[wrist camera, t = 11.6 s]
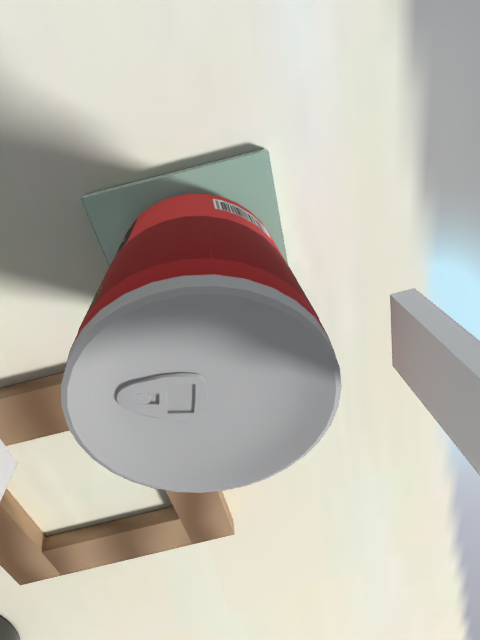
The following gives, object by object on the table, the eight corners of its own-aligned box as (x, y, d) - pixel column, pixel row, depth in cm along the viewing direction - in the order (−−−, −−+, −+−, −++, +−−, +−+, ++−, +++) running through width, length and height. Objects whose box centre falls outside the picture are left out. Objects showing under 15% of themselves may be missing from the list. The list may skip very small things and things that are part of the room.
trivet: (147, 344, 24) (145, 351, 23) (84, 194, 19) (80, 198, 18) (293, 308, 24) (296, 314, 23) (265, 148, 19) (268, 150, 18)
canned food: (98, 207, 19) (4, 322, 9) (263, 172, 19) (338, 253, 9) (146, 339, 23) (113, 517, 13) (282, 311, 23) (349, 467, 13)
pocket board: (25, 569, 33) (20, 585, 32) (-119, 417, 24) (-132, 431, 23) (233, 520, 33) (234, 534, 32) (166, 347, 24) (164, 358, 23)
